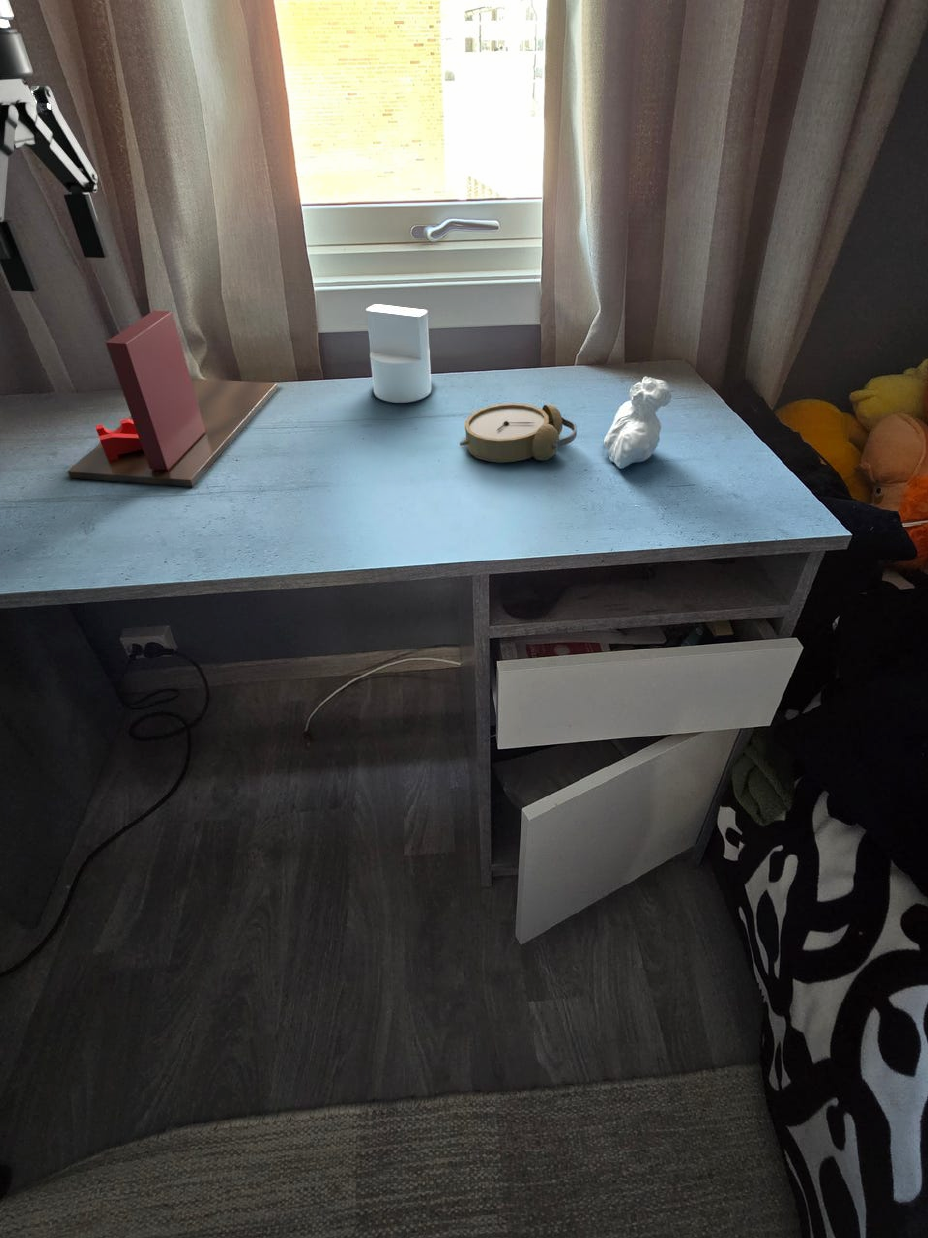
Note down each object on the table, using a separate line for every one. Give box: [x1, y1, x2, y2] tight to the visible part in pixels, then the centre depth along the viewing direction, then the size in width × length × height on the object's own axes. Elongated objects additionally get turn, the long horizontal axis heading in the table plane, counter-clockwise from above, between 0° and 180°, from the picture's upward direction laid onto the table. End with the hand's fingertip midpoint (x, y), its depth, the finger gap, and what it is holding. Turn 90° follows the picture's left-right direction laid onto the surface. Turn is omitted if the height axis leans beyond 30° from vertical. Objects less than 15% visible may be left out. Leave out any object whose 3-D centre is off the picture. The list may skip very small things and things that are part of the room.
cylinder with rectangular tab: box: [365, 303, 432, 404], centre depth 104 cm, size 9×9×12 cm
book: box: [105, 310, 205, 471], centre depth 86 cm, size 2×11×16 cm, turn 171°
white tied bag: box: [603, 376, 672, 470], centre depth 88 cm, size 12×8×11 cm
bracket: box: [94, 417, 143, 461], centre depth 92 cm, size 6×5×3 cm
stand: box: [67, 378, 278, 488], centre depth 99 cm, size 17×30×1 cm, turn 171°
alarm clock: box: [459, 402, 578, 463], centre depth 92 cm, size 11×5×15 cm
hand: (63, 272), depth 78 cm, fingers open, 13 cm apart
